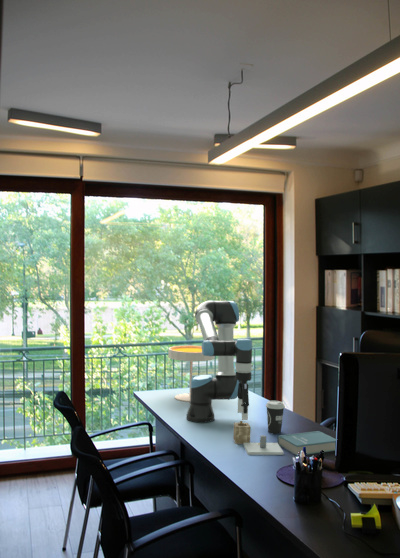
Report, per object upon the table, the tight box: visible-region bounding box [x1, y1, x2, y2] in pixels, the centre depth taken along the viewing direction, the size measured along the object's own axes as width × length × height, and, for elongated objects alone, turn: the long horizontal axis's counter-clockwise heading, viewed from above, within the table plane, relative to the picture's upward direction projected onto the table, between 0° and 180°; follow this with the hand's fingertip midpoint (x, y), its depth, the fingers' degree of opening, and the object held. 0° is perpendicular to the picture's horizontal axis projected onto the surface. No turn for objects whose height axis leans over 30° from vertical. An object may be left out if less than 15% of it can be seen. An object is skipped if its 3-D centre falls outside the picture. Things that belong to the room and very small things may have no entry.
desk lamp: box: [167, 345, 216, 403], centre depth 338 cm, size 30×30×31 cm
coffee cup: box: [265, 400, 286, 435], centre depth 271 cm, size 10×10×15 cm
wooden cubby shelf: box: [232, 420, 252, 445], centre depth 255 cm, size 7×7×9 cm
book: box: [277, 430, 337, 456], centre depth 249 cm, size 23×16×5 cm
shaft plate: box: [242, 435, 285, 456], centre depth 244 cm, size 16×13×6 cm
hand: (242, 416), depth 255 cm, fingers open, 13 cm apart
